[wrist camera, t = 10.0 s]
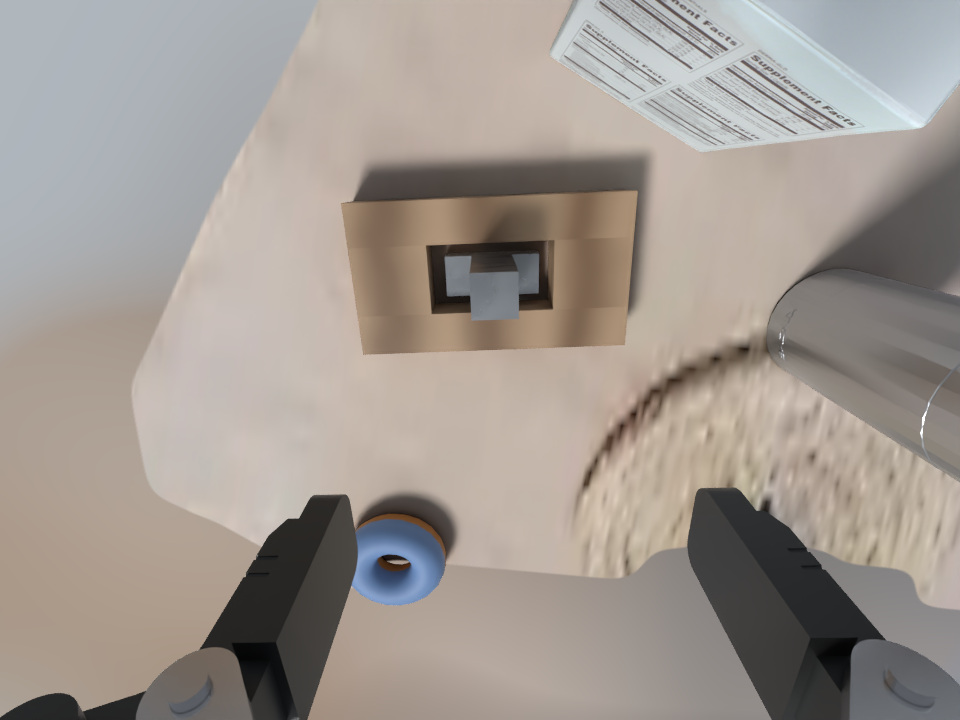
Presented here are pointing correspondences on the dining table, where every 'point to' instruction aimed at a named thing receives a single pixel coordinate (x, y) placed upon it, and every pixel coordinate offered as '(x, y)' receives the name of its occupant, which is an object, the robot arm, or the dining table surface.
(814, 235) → the dining table surface
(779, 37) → the supplement box
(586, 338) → the frame
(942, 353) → the robot arm
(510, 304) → the grey metal t-block
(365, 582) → the doughnut
